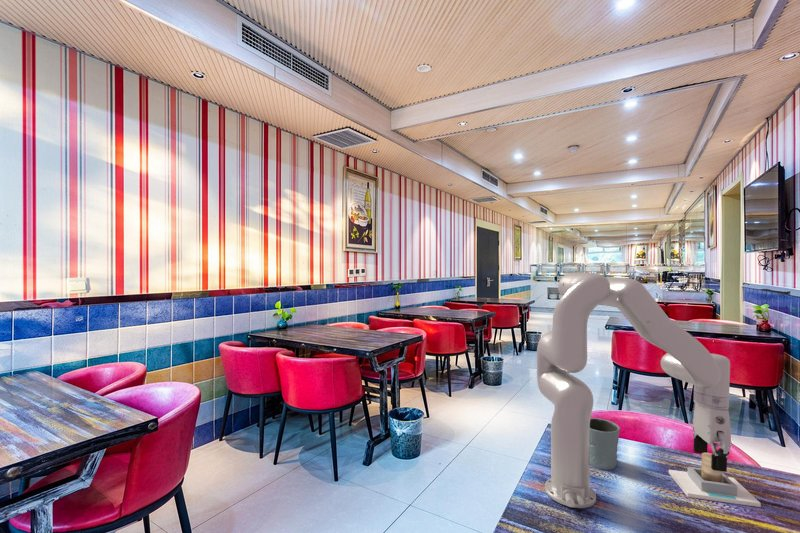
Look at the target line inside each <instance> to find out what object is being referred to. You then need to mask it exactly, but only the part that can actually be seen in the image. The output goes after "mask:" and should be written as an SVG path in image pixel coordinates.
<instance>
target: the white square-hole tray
mask: <svg viewBox="0 0 800 533" xmlns="http://www.w3.org/2000/svg"><path fill="white" fill-rule="evenodd" d="M701 471H702V467H694V466H687V471H684V470H676V469H675V470H674V469H668V474H669V476H670V477H671V478H672V479H673V480H674V482H675V483H676V484H677V486H679V488H680V490H681V491H683V493H684V494H685V495H686V497H687V498H692V499H699V500H707V501H715V502H723V503H727V504H735V505H741V506H742V505H743V506H749V507H757V508H762V503H761V502H760V501H759V500H758V499H757V498H755V496H754V495H753V494H752V493H750V492H749V491H748V490H747V489H746V488H745V487H744V486H743V485H742V484H741V483H739V482H740V481H737V479H735V478H734V477H733V476H732V477H731V476H727V475H726V474H725V472H722V483H720V482H712V481H704V480H703V479H702V478H701Z"/></svg>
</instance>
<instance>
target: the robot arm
mask: <svg viewBox="0 0 800 533" xmlns="http://www.w3.org/2000/svg"><path fill="white" fill-rule="evenodd" d="M557 289H558V292H559V294H560V296H561V297H560V298H559V300H558V301H557V303H556V305H555V307H554V310H553V316H552V330H550V331H548V332H545V333H544V334H542V335H541V338H540V339H539V341H538V343H537V347H536V375H537V376H536V378H537V380H536V381H537V387H538V390H539V392H540V394H542V396H543V397H544V398H546V399H547V400H548V401H549V402H551V404H552V405H554V411H553V414H552V417H551V421H550V478H548V479H547V480H545V483H544V491H545V493H546V494H547V495H548V497H549V498H550V499H552V500H553V501H555V502H557V503H558V504H561V505H563V506H566V507H569V508H575V509H586V508H590V507H592V506H594V505H595V504H596V502H597V495H596V492H595V490H594V489H593V488H592V487H591V484H590V483H591V482H590V481H591V479H590V478H591V477H590V476H591V475H590V474H591V473H590V472H591V471H590V470H591V469H590V466H591V465H590V418H592V412H593V409H594V408H593V407H594V395H593V393H592V391H591V389H590V387H589V386H588V385H587V384H586V383H585V382H584V381H583V380H581V379H580V378H578V377H577V376H575V375H572V373H573V374H575V373H580V372H581V371H583V370H584V369H585V367H586V366H587V362H588V320H589V317H590V315H591V314H592V312H593V311H594V310H595V308H597V306H603V307H604V306H606V307H612V308H617V309H618V310H619V311H620V313H621V314H622V315H623V316H624V317H625V319H626V320H627V322H629V324H630V325H631V326H632V328H633V329H634V330H635V332H636V334H638V335H639V336H640V337H641V338H643V339H644V340H645V341H647V342H648V343H650V344H652V345H653V346H655V347H657V348H659V349H660V350H663V351H664V352H665V354H664V355H662V357H661V358H660V359H661V360H660V366H661V367H660V368H661V369H662V371H663V372H665V374H667V375H668V376H669V377H672V378H675V379H677V380H680V381H682V382H685V383H688V384H691V385H693V402H694V409H693V418H692V420H691V421H692V426H693V427H692V430H693V433H692V436H693V448H692V449H693V452H694V453H695V454H702V453H708V446H709V445H710V446H711V451H712V457H711V468H712V469H713V470H716V471H722V472H723V473H726V472H727V471H728V470H727V469H728V458H729V454H730V449H731V446H732V429H731V419H730V411H729V409H730V383H731V382H730V379H731V378H730V377H731V361H730V359H729V358H728V357H727V356H724V355H721V354H717V353H710V351H709V350H708V349H707V348H706V347H705V346H704V345H703V344H702V343H701V342H700V341H699V340H698V339H697V338H696V337H694V336H693V335H692V334H690V333H689V332H687V331H686V330H685V329H684V328H682V326H680V325H678V324H677V323H676V322H674V321H673V320H672V319H670V318H669V316H668V315H667V314H666V313H665V311H664V310H663V309H662V307H661V306H660V305H659V304H658V302H657V301H656V299H655V298H654V297H653V296H652V295H651V293H650V292H649V291H648V290H647V288H646V287H645V286H644V285H643V284H642V282H640V281H638V280H636V279H635V278H634V279H633V278H626V277H625V278H624V277H609V276H605V275H602V274H600V273H595V272H576V271H575V272H569V273H565V274H564V275H563V276H562V277H561V278H560V279H559V281H558V285H557ZM717 448H719V449H717Z"/></svg>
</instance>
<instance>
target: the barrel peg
mask: <svg viewBox="0 0 800 533" xmlns="http://www.w3.org/2000/svg"><path fill="white" fill-rule="evenodd" d="M712 454H713V452H712V453H710V452H707V453H701V468H702V471H701V478H702V479H703V480H704V481H712V482H720V483H722V471H716V470H713V469H712V468H711V457H712Z"/></svg>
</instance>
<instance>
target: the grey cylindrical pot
mask: <svg viewBox="0 0 800 533" xmlns="http://www.w3.org/2000/svg"><path fill="white" fill-rule="evenodd" d="M619 437H620V426H619V425H618V424H617V423H615V422H614V421H611V420H608V419H603V418H598V417H591V418H590V466H592V467H593V468H596V469H600V470H605V471H606V470H607V471H608V470H614V469H616V467H617V461H618V454H617V453H618V445H619V440H620V439H619Z"/></svg>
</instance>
